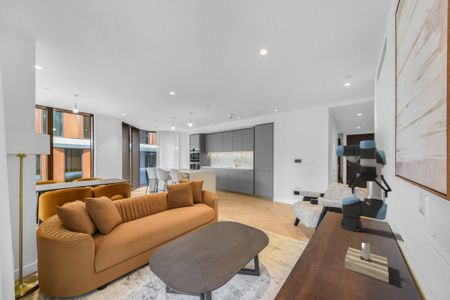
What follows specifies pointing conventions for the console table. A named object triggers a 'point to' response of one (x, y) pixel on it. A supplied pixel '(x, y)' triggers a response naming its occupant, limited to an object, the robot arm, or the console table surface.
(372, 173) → the robot arm
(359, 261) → the bore block
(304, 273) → the console table surface
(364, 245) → the pin
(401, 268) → the console table surface
